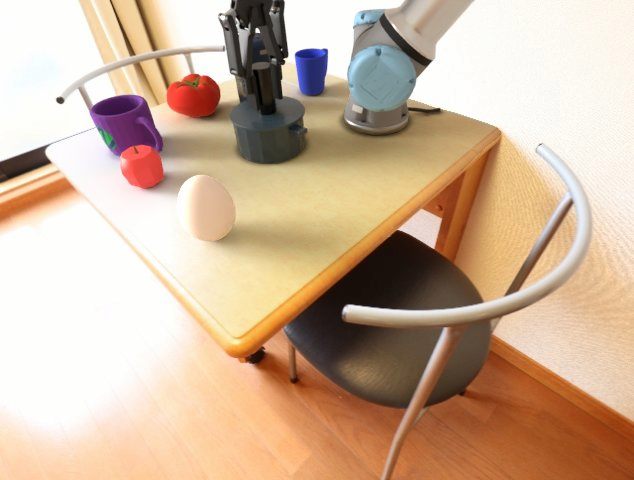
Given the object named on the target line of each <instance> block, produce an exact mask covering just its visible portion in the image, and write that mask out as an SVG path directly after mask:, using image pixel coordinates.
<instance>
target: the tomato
mask: <svg viewBox="0 0 634 480" xmlns="http://www.w3.org/2000/svg"><path fill="white" fill-rule="evenodd" d="M220 101H221V88H220V85H219V83H217V82H216V80H214V79H213V78H212V77H211V76H209V75H206V74H203V75H200V74H199V73H190V74H188V75H185V76H184V77H182V79H180V81H179V80H177V81H173V82H171V84H170V85H169V86H168V88H167V92H166V104H167V105H168V108H170V110H172V111H173V112H175V113H176V114H180V115H184V116H188V117H192V118H193V119H195V118H200V117H208V116H210V115H212V114H213V113H214V112H215V111H216V110H217V108H218V106H219V103H220Z"/></svg>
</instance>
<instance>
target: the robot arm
mask: <svg viewBox="0 0 634 480" xmlns="http://www.w3.org/2000/svg"><path fill="white" fill-rule="evenodd" d="M475 1H476V0H403V2H402V3H401V4H400V6H397V7H391V8H374V9H365V10H360V11H358V12H356V14H354V19H353V20H354V21H353V24H352V29H353V41H352V42H353V43H352V50H351V57H350V60H349V61H350V62H349V65H348V67H347V73H346V74H347V77H346V79H347V84H348V89H349V96H348V98H347V102H346V104H345V108H344V111H343V122H344V124H345V126H346V127H347V128H348V129H350V130H352V131H354V132H356V133H358V134H359V133H360V134H364V135H370V136H383V135H390V134H394V133H398V132H399V131H401V130H403V129H404V128H405V127H406V126H407V125H408V123H409V116H410V112H416V113H417V112H418V113H424V114H432V113H433V114H434V113H439V112H441V111H442V108H441V107H436V108H422V107H410V106H408V102H407V101H408V100H409V99H410V97H411V96H412V94H413V92H414V89H415V88H416V84H417V79H418V78H419V77H420V76H421V75H422V73H423V72H424V71H425V70H426V69H427V68H428V67H429V65H430V64H432V63H433V62H434V60H435V59H436V54H437V53H436V52H437V44H438V42H439V41H440V40H441V39H442V38H443V37H444V36H445V35H446V34H447V32H448V31H449V30H450V29H451V28H453V26H454V25H455V24H456V23H457V21H458V20H459V19H460V18H461V17H462V15H464V13H465V12H466V11H467V10H468V9H469V8H470V6H471V5H473V3H474V2H475ZM285 6H286V2H285V0H230V5H229V8H230V9H228V10H227V11H226V12H224V13H223V12H219V13H218V14H217V18H218V21H219V23H220V26H221V28H222V31H223V37H224V45H225V50H226V57H227V63H228V64H227V65H228V70H229V73H230V75H233V76H234V75H235V76H238V77H240V78H241V83H242V88H243V92H244V93H245V94H246V96H247V101H248V107H249V108H251V109H254V110H256V111H259V110H260V103H259V97H258V90H257V83H256V77H255V76H254V75H251V74H252V54H253V37H254V36H255V33H257V31H256V30H258V31H259V33H260V34H261V37H262V39H263V42H264V45H265V48H266V51H267V54H268V56H269V59H270V62H272V64H271V63H270V64H271V66H272V75H273V83H274V91H275V98H277V99H279V100H281V99H283V96H284V95H283V85H282V81H283V78H284V77H283V69H282V67H283V66H285V64H286V59H288V58H289V47H288V46H289V44H288V40H287V39H288V36H287V29H286V22H285V8H286V7H285ZM238 34H239V36H238ZM235 76H234V77H235Z"/></svg>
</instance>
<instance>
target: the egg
mask: <svg viewBox="0 0 634 480" xmlns="http://www.w3.org/2000/svg"><path fill="white" fill-rule="evenodd" d="M176 210H177V216H178V219H179V221H180V224H181V226H182V227H183V229H184V231H186V232H187V233H188V234H189V235H190V236H191V237H193V238H194V239H197V240H200V241H203V242H215V241H216V242H217V241H219V240H221V239H223V238H225V237H226V236H227V235H228V234H229V233H230V231H231V230H232V229H233V227H234V226H235V225H234V224H235V222H236V216H237V212H236V204H235V202H234V199H233V197H232V195H231V193H230V191H228V189H227V188H226V187H225V186H224V185H223V183H221V182H220V180H219V181H218V180H217V179H216V178H215V177H212V176H209V175H206V174H198V175H193V176H192V177H189V178H188V179H186V180H185V181H184V183H183V184H182V186H181V187H180V190H179V191H178V195H177V202H176Z"/></svg>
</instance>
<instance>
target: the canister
mask: <svg viewBox="0 0 634 480" xmlns="http://www.w3.org/2000/svg"><path fill="white" fill-rule="evenodd" d="M238 36H239V33H238ZM258 62H268V63H271V64H272V62H270V59H269V56H268V54H267V51H266V48H265V45H264V42H263V39H262V37H261V34H260V32H256V33H255V36H254V37H253V54H252V64H254V63H258ZM251 75H252V74H251ZM233 76H234V79H235V84H236V89H237V95H238V101H239V103H241V102H243V101H246V100H247V96H246V94H245V93H244V92H243V88H242V83H241V78H240V77H238V76H235V75H233Z"/></svg>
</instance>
